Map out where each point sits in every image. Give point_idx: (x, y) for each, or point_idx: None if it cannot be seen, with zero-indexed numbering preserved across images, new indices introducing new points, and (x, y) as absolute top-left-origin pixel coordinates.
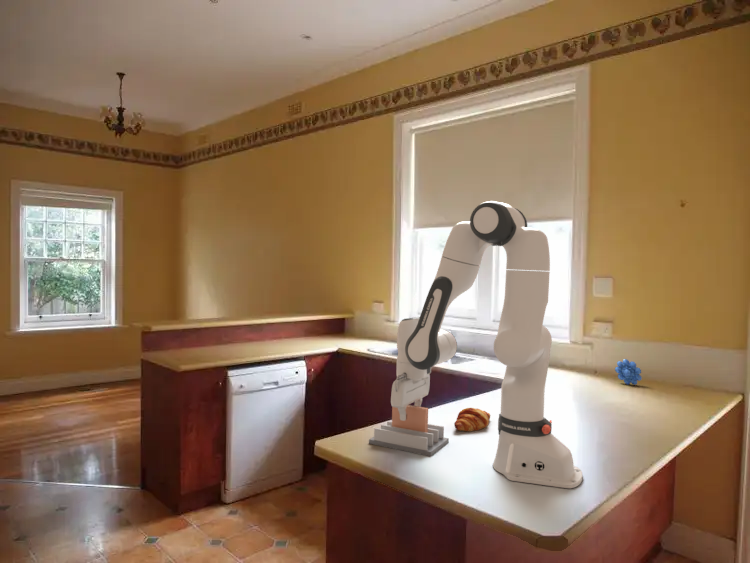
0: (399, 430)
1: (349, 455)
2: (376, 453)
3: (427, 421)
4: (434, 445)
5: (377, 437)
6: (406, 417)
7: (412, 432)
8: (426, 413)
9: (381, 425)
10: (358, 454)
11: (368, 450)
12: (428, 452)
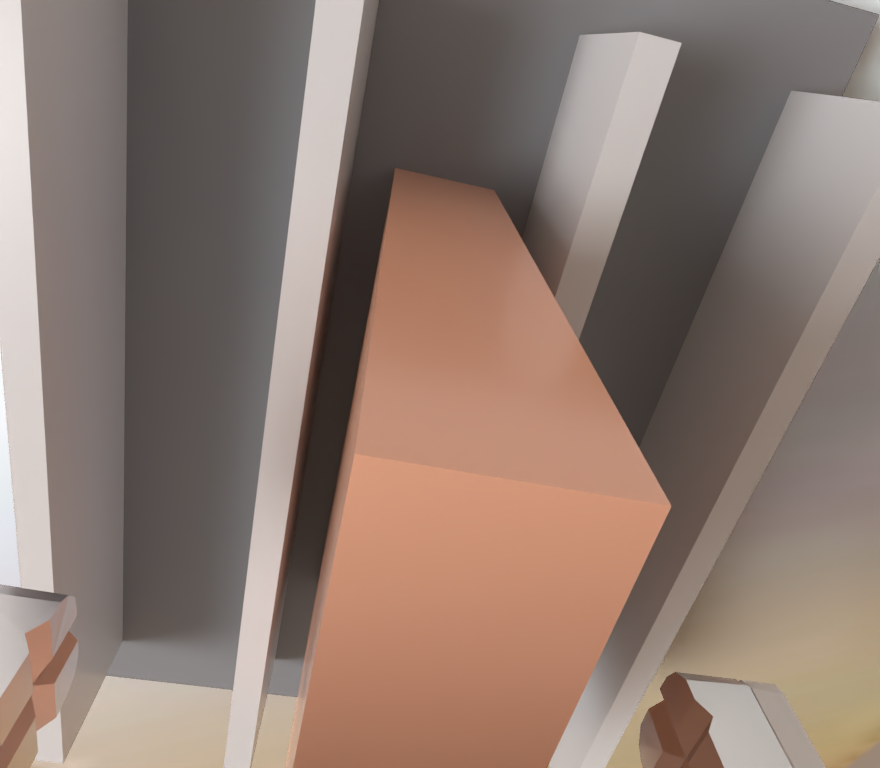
0: None
1: (858, 725)
2: (792, 586)
3: (414, 264)
4: (558, 12)
5: None
6: (741, 715)
7: None
8: (532, 386)
9: None
10: (830, 685)
11: (722, 653)
12: (849, 59)
